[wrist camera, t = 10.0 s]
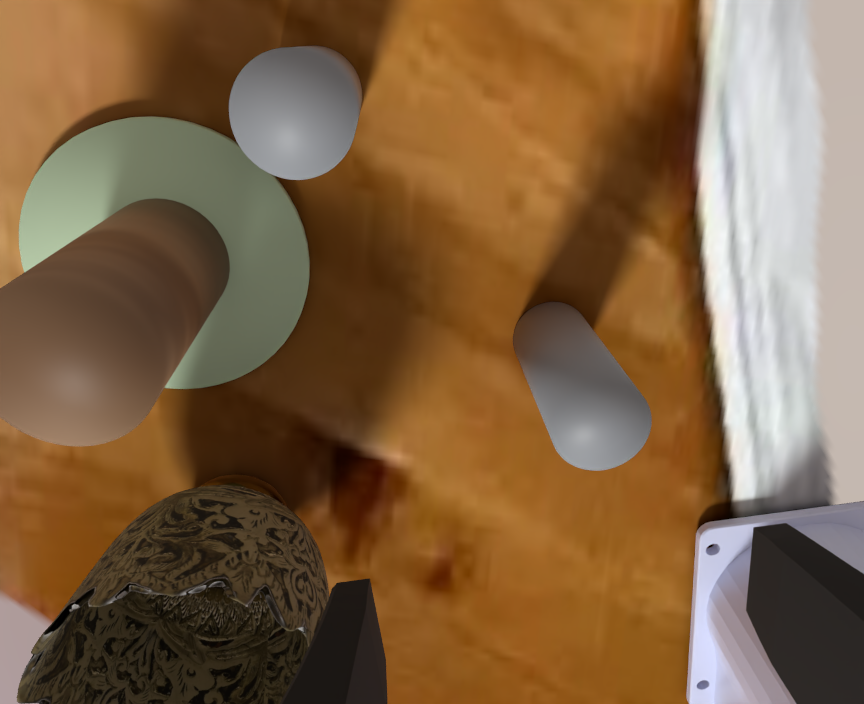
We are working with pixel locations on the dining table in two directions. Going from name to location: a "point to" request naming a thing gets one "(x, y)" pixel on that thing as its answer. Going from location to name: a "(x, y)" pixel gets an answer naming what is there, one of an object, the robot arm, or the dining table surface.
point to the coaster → (206, 193)
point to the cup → (189, 606)
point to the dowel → (107, 322)
